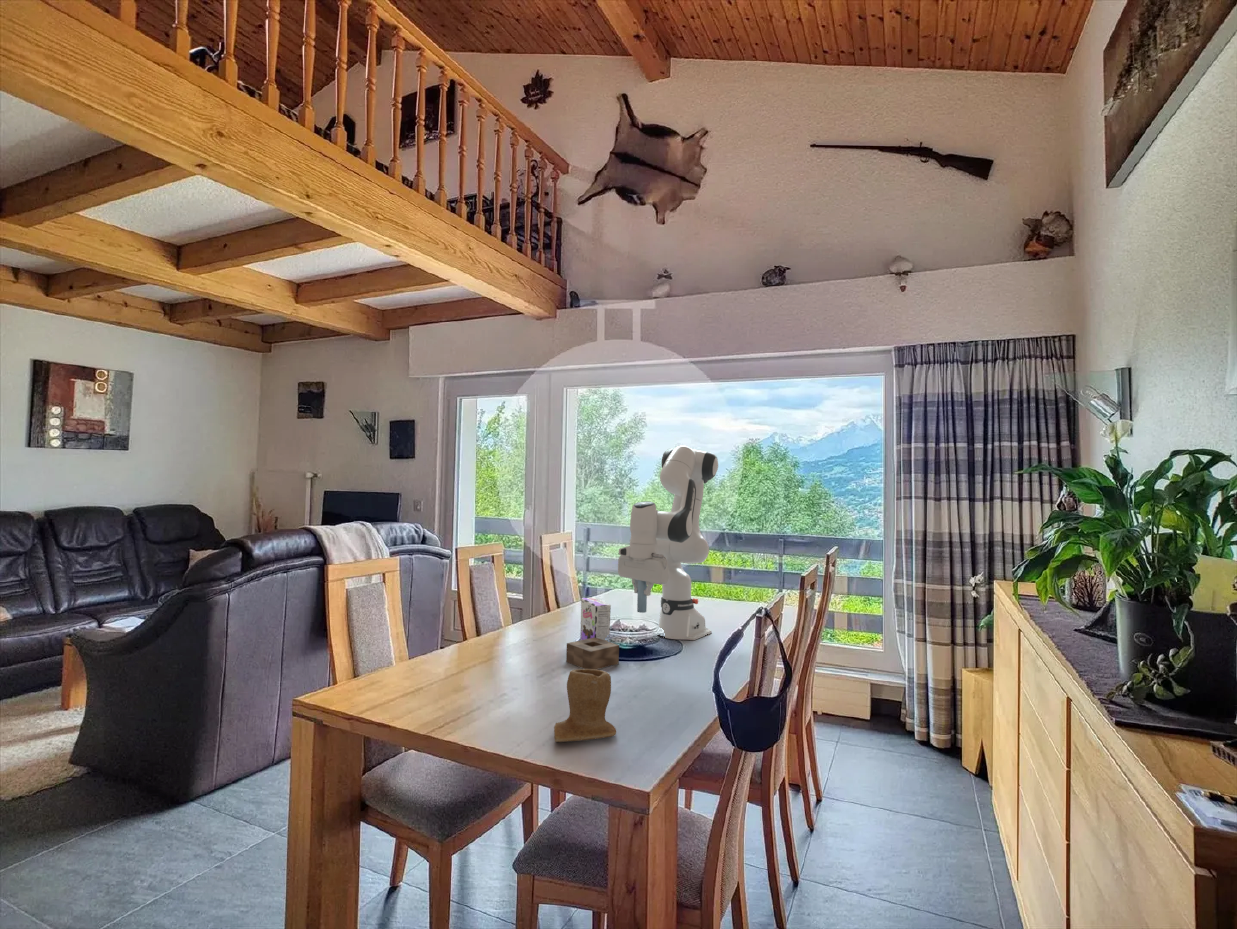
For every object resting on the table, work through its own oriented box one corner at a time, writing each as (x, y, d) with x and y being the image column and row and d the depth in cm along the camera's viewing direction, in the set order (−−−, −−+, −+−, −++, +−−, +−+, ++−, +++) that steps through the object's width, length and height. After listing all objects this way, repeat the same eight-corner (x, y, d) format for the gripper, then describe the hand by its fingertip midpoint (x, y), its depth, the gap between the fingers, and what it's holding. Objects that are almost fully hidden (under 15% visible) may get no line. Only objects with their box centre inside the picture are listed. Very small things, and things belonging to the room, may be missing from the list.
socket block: (594, 655, 209) (594, 637, 209) (618, 663, 200) (619, 645, 200) (566, 661, 201) (566, 643, 201) (590, 670, 192) (590, 651, 192)
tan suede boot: (606, 722, 153) (608, 661, 153) (620, 742, 141) (622, 676, 142) (545, 728, 148) (547, 665, 148) (555, 749, 137) (557, 681, 137)
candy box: (579, 643, 223) (580, 597, 224) (594, 641, 226) (595, 596, 226) (594, 653, 211) (595, 605, 211) (610, 652, 213) (611, 604, 214)
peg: (641, 610, 204) (642, 573, 204) (648, 611, 202) (649, 574, 202) (635, 611, 202) (636, 574, 202) (641, 613, 200) (642, 575, 200)
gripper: (673, 554, 197) (672, 598, 196) (628, 547, 212) (628, 588, 211) (659, 556, 192) (658, 600, 192) (615, 549, 207) (614, 590, 207)
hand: (642, 594), depth 202 cm, fingers closed on peg, 3 cm apart
